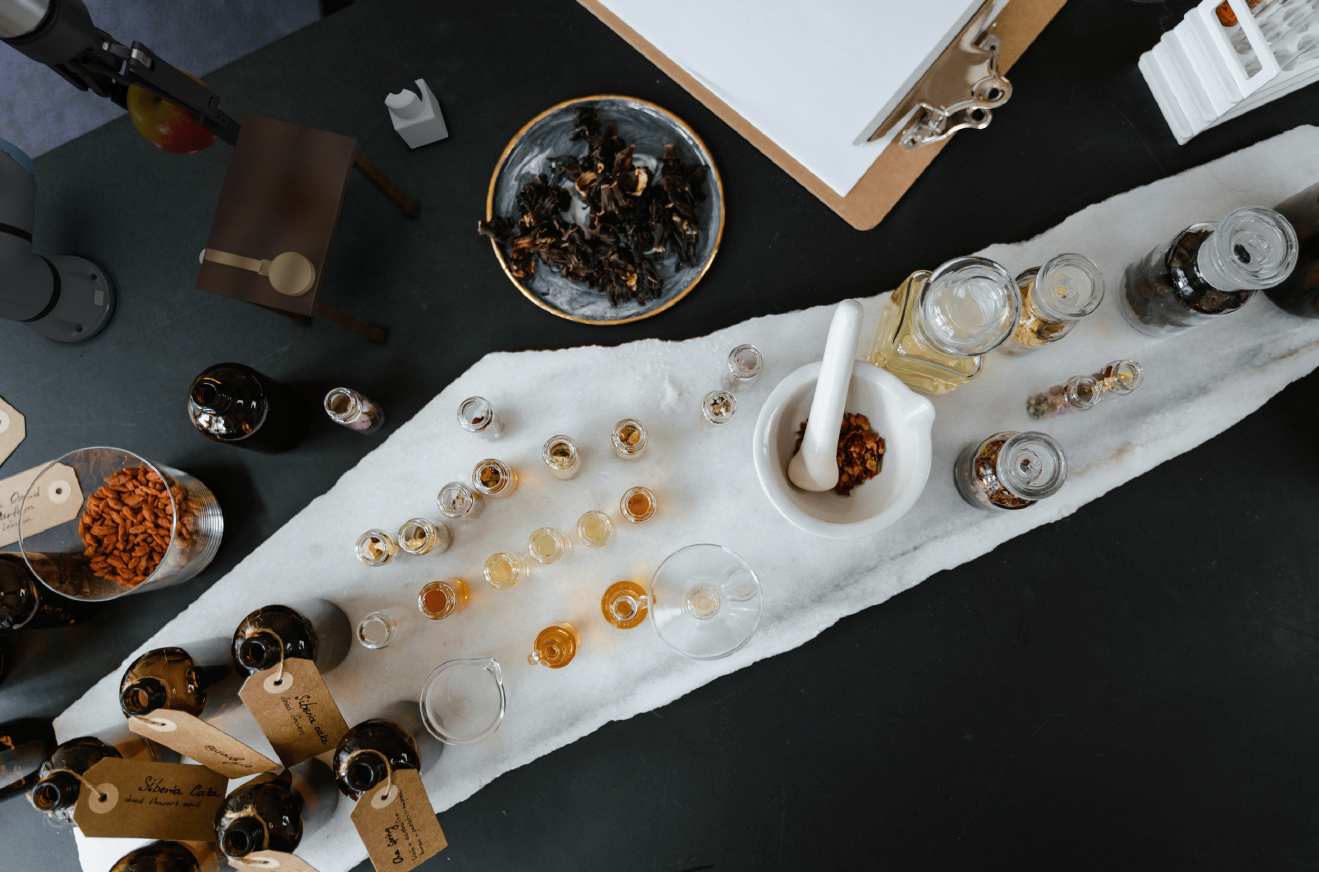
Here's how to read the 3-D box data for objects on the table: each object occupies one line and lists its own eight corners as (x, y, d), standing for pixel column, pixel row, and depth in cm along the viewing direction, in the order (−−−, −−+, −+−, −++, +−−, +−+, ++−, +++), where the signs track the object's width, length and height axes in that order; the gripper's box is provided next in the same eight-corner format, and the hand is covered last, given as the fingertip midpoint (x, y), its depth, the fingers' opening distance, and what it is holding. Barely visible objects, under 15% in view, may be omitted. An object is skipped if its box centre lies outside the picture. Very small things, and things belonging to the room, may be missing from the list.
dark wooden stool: (293, 323, 118) (194, 288, 94) (330, 183, 118) (241, 112, 94) (385, 345, 117) (309, 315, 93) (421, 204, 118) (355, 137, 94)
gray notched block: (400, 112, 119) (368, 73, 107) (438, 100, 118) (410, 59, 106) (411, 149, 118) (381, 114, 106) (449, 137, 118) (423, 100, 106)
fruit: (208, 178, 82) (157, 147, 74) (149, 142, 83) (92, 108, 75) (249, 112, 82) (203, 75, 74) (189, 77, 83) (137, 36, 75)
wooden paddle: (205, 276, 94) (199, 273, 92) (216, 235, 94) (210, 232, 93) (309, 300, 93) (304, 298, 92) (320, 259, 93) (315, 256, 92)
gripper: (140, -16, 59) (288, 116, 82) (-85, -62, 60) (123, 80, 83) (119, 64, 59) (274, 174, 82) (-107, 16, 60) (108, 138, 83)
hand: (198, 127), depth 82 cm, fingers closed on fruit, 9 cm apart
